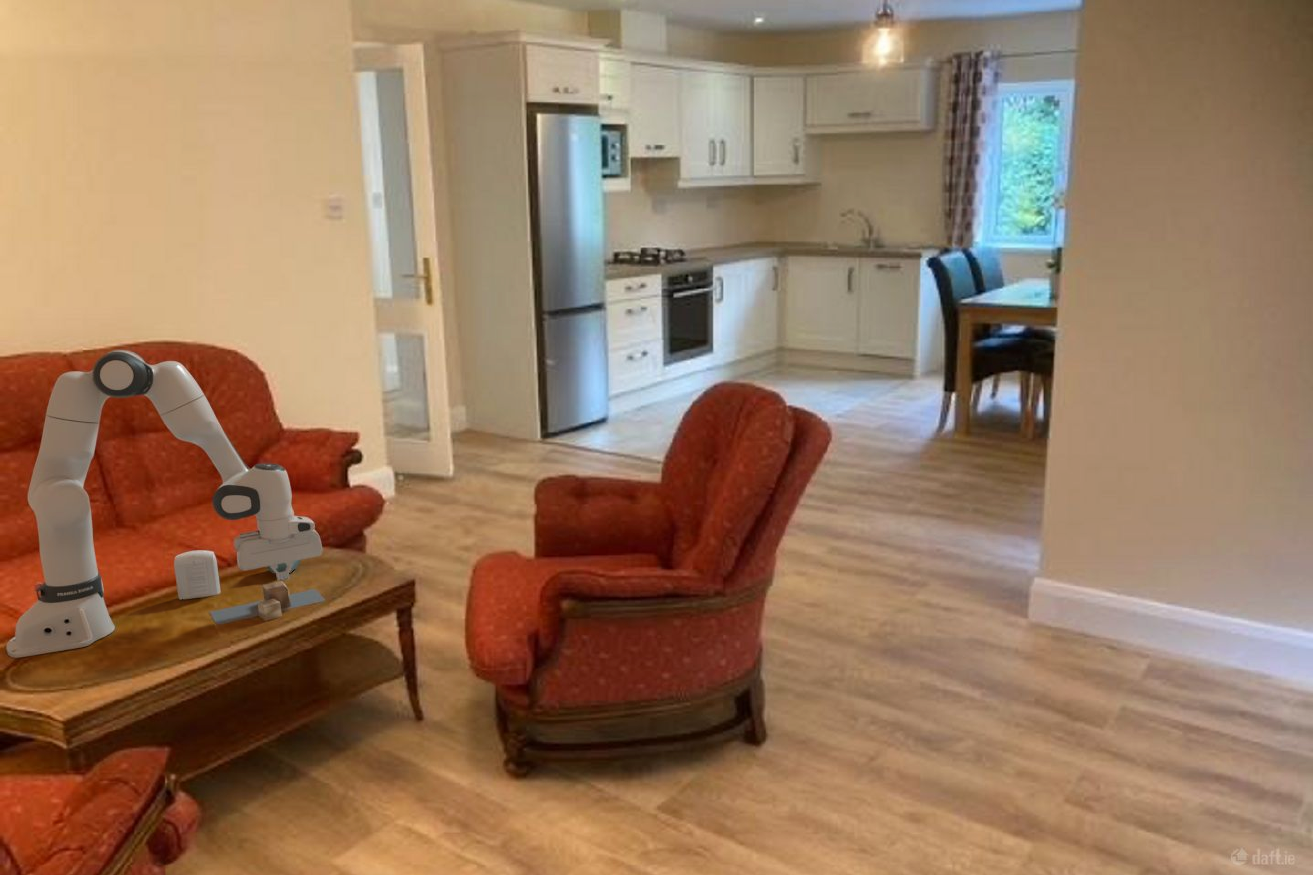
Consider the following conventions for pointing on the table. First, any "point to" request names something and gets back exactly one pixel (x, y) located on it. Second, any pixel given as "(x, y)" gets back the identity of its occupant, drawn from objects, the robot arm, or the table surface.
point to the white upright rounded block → (196, 574)
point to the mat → (253, 611)
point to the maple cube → (269, 609)
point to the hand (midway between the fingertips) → (283, 579)
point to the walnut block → (277, 593)
